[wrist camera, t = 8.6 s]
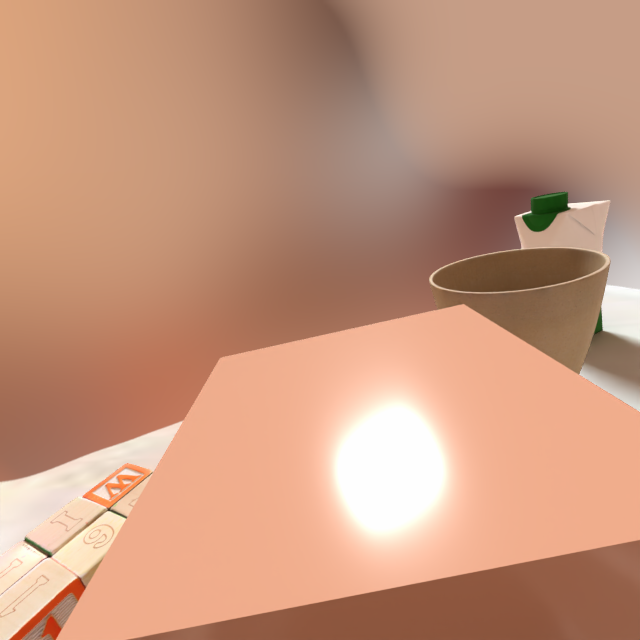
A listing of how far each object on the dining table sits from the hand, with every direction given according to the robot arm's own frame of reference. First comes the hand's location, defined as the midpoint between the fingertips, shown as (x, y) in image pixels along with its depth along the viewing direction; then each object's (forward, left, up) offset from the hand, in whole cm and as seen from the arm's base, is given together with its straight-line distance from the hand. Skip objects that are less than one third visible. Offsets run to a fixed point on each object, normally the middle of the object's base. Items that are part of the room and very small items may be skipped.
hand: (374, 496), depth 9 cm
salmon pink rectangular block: (0, -2, -6) cm, 7 cm away
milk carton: (+32, +41, -18) cm, 55 cm away
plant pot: (+17, +26, -18) cm, 36 cm away
